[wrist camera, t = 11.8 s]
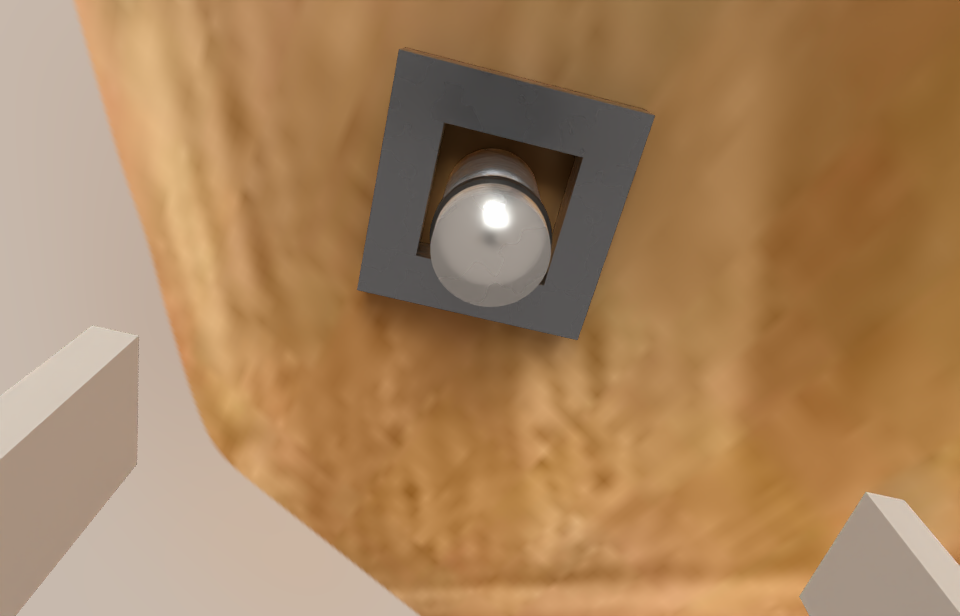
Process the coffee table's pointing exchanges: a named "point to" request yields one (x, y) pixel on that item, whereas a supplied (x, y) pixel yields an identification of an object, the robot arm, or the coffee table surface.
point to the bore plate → (517, 116)
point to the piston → (491, 230)
